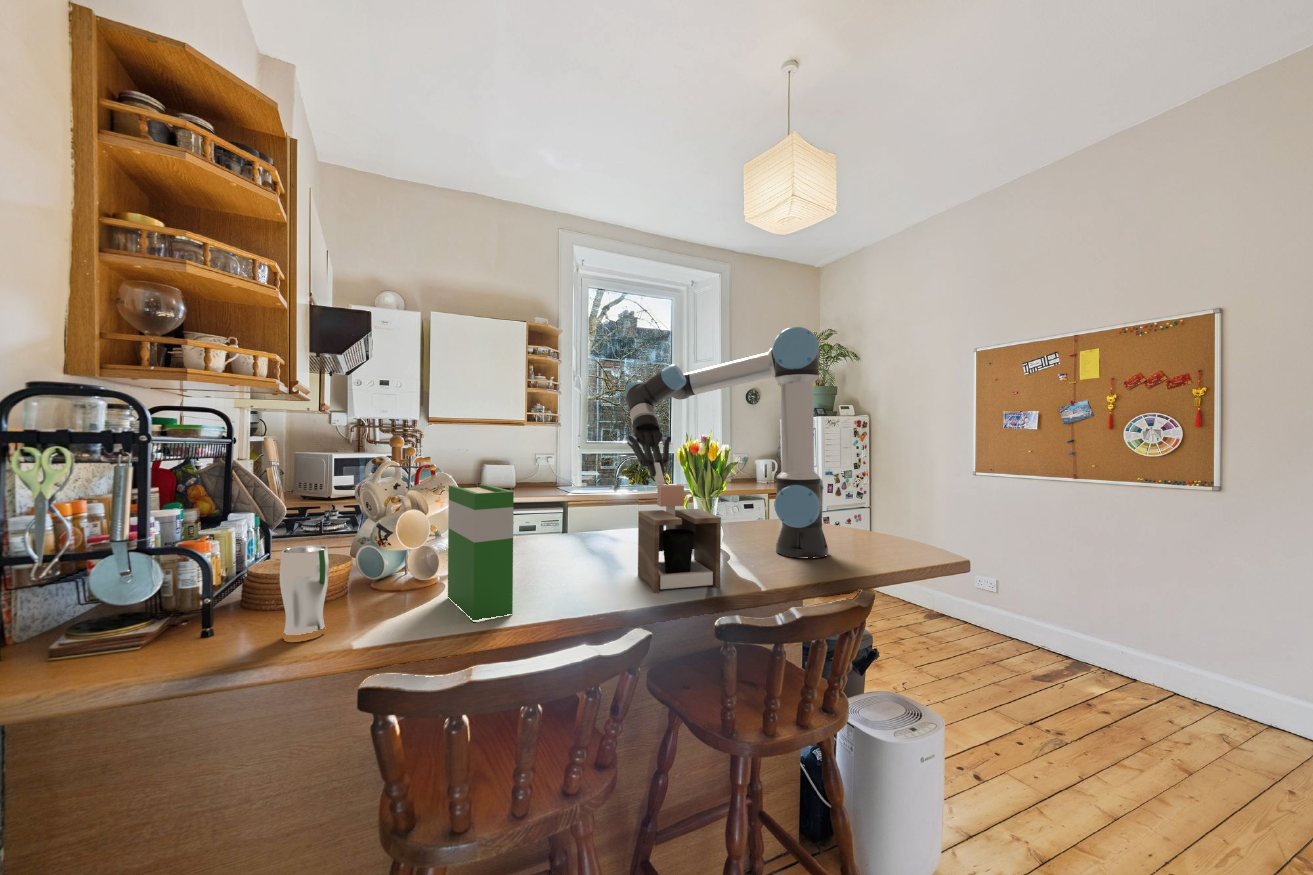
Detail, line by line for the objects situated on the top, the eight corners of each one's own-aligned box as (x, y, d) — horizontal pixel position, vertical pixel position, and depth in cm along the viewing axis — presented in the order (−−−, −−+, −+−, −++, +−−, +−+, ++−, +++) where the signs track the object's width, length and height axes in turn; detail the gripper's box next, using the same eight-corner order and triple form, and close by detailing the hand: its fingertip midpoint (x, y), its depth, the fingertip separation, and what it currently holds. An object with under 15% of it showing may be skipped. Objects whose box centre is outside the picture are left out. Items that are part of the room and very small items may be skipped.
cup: (694, 586, 119) (694, 535, 119) (661, 585, 119) (662, 534, 119) (692, 577, 126) (693, 528, 126) (661, 576, 126) (662, 528, 126)
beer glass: (276, 635, 88) (276, 548, 88) (323, 625, 93) (324, 542, 92) (283, 647, 83) (283, 555, 83) (332, 636, 88) (333, 549, 87)
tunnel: (697, 571, 132) (698, 508, 132) (720, 587, 118) (720, 517, 118) (637, 575, 127) (638, 510, 127) (654, 592, 114) (654, 520, 113)
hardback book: (447, 598, 108) (448, 485, 108) (482, 592, 113) (483, 483, 113) (473, 623, 94) (474, 493, 94) (512, 615, 99) (513, 491, 99)
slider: (691, 569, 131) (692, 484, 131) (712, 584, 118) (713, 490, 118) (643, 573, 128) (644, 485, 127) (660, 589, 115) (661, 491, 114)
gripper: (662, 431, 155) (680, 492, 139) (621, 431, 151) (634, 493, 136) (668, 413, 150) (687, 474, 134) (625, 412, 146) (639, 475, 130)
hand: (660, 484), depth 135 cm, fingers closed
